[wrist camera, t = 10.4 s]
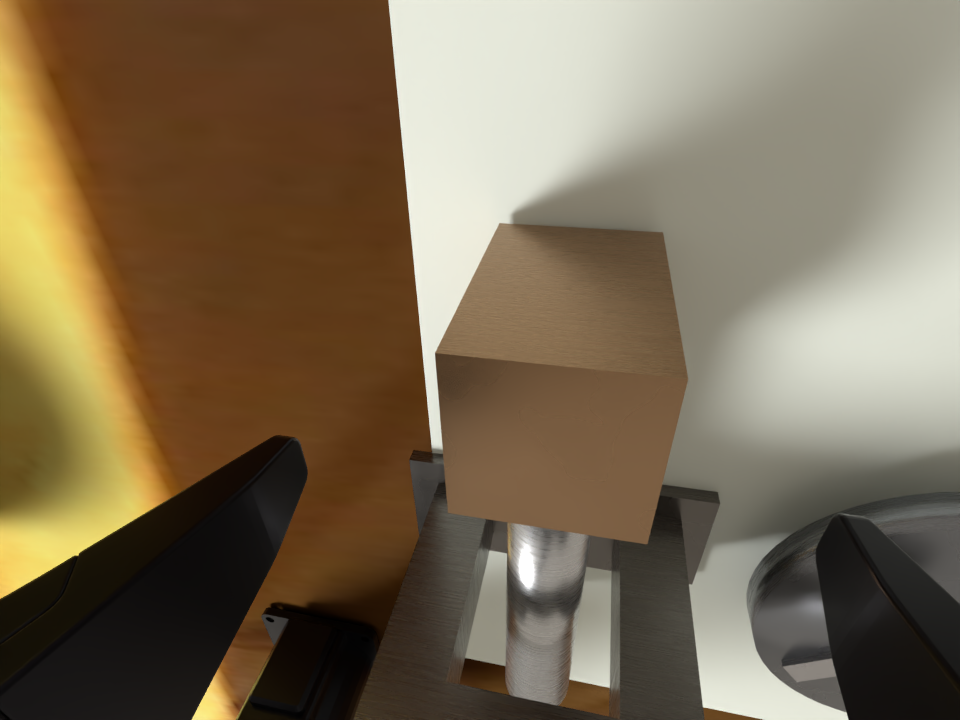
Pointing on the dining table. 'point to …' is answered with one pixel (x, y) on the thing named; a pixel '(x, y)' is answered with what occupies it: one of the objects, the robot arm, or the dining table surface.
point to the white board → (718, 250)
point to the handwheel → (797, 597)
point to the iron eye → (454, 597)
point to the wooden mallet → (559, 417)
